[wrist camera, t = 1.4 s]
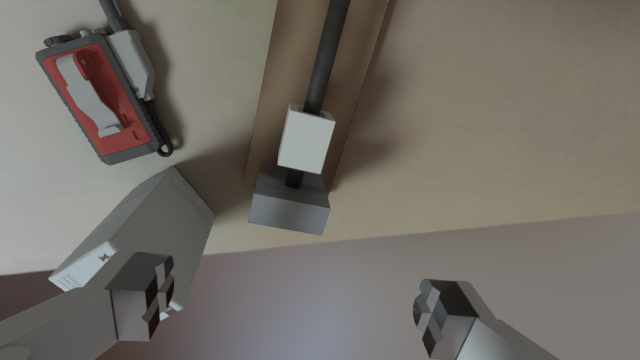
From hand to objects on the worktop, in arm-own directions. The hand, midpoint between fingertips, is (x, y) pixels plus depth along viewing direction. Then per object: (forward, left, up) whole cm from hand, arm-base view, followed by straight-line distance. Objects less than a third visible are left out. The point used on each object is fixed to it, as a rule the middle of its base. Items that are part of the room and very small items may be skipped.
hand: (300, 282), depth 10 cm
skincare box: (-11, -13, -26) cm, 31 cm away
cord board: (+1, +6, -26) cm, 26 cm away
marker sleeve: (+1, 0, -22) cm, 22 cm away
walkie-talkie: (-19, 0, -26) cm, 32 cm away
